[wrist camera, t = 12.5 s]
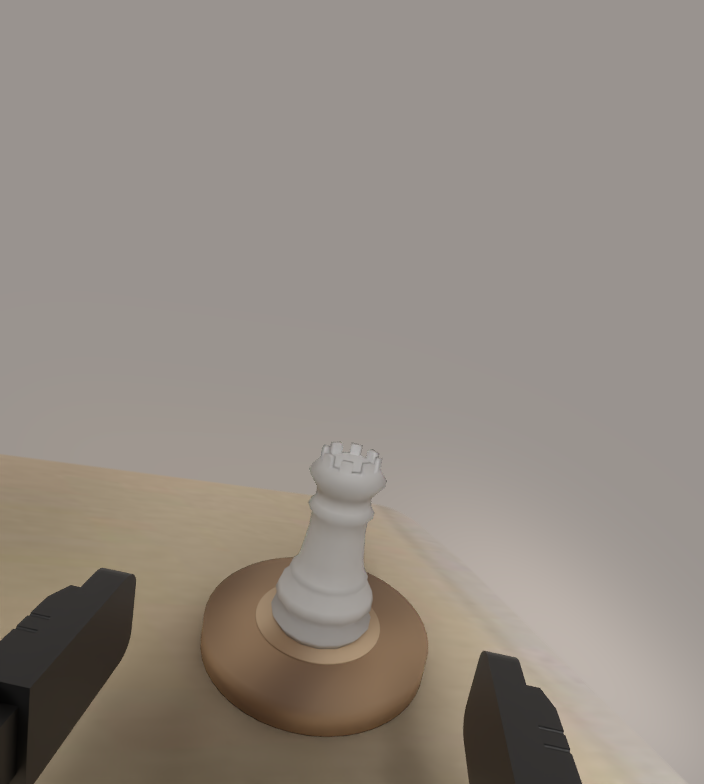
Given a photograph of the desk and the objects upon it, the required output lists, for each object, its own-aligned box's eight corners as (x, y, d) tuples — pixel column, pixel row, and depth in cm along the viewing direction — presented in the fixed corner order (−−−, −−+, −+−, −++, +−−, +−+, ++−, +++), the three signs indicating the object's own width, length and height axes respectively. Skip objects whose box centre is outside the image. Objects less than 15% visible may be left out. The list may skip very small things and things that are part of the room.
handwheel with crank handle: (160, 702, 20) (178, 554, 19) (239, 561, 30) (254, 456, 29) (427, 763, 20) (465, 616, 19) (419, 600, 30) (444, 495, 28)
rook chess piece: (258, 593, 26) (284, 431, 24) (344, 584, 28) (376, 434, 26) (286, 663, 22) (321, 476, 20) (385, 647, 24) (426, 476, 22)
